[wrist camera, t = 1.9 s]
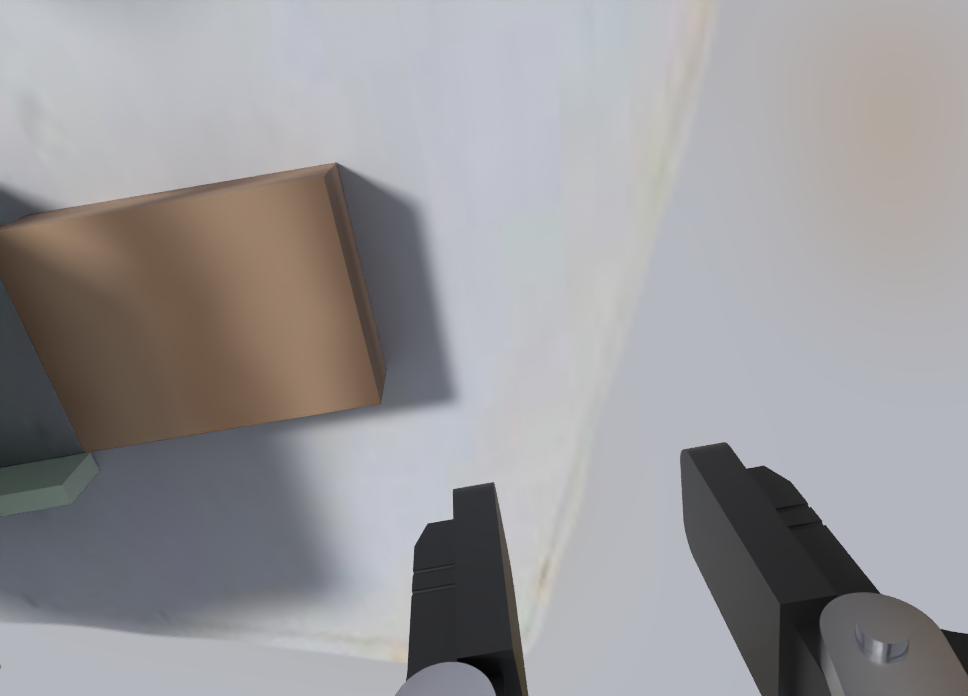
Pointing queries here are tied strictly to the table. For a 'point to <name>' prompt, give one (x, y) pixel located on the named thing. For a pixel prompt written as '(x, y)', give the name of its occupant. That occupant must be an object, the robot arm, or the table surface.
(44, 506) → the shelf
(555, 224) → the table surface
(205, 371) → the brown block
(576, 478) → the table surface
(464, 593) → the robot arm
